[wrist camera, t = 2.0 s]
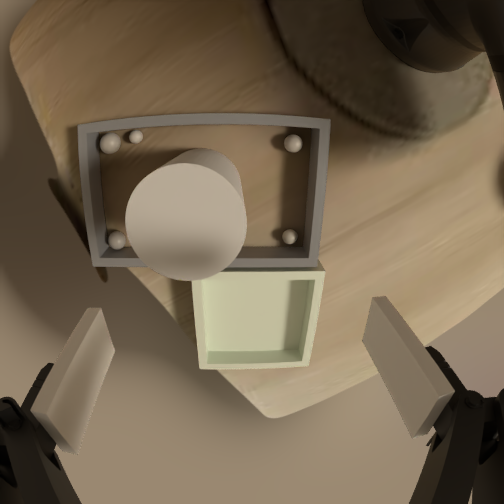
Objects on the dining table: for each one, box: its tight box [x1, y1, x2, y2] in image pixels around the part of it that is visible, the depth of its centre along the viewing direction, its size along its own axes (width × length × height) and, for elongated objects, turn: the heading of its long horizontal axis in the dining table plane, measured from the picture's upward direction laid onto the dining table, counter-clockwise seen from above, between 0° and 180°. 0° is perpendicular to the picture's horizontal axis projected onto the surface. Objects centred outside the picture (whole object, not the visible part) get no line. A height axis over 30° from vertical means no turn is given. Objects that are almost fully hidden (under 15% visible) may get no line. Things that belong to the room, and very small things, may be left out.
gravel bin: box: [78, 113, 331, 267], centre depth 29 cm, size 15×24×3 cm, turn 88°
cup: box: [125, 148, 247, 281], centre depth 25 cm, size 8×8×12 cm
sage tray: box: [192, 260, 325, 369], centre depth 36 cm, size 14×14×3 cm
